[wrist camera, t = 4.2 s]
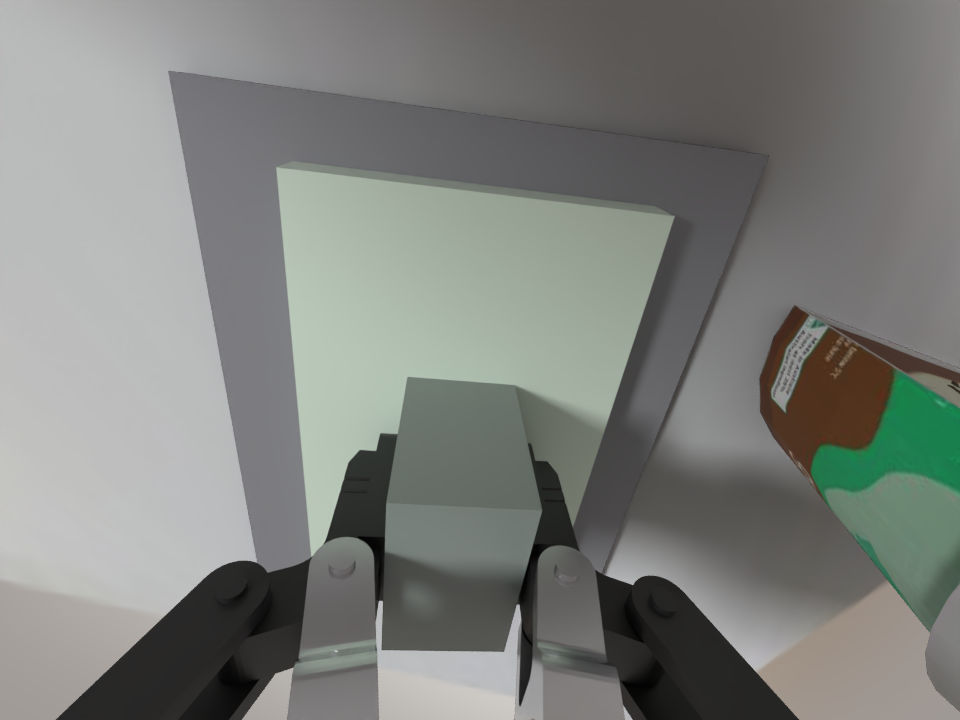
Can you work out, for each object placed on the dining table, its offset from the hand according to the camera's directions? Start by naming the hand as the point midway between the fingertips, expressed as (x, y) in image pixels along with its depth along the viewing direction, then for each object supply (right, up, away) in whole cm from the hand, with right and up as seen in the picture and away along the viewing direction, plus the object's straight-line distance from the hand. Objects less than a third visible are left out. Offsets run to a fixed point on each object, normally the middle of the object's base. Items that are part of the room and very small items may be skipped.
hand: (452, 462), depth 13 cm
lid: (0, +1, +2) cm, 2 cm away
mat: (0, +1, +2) cm, 2 cm away
